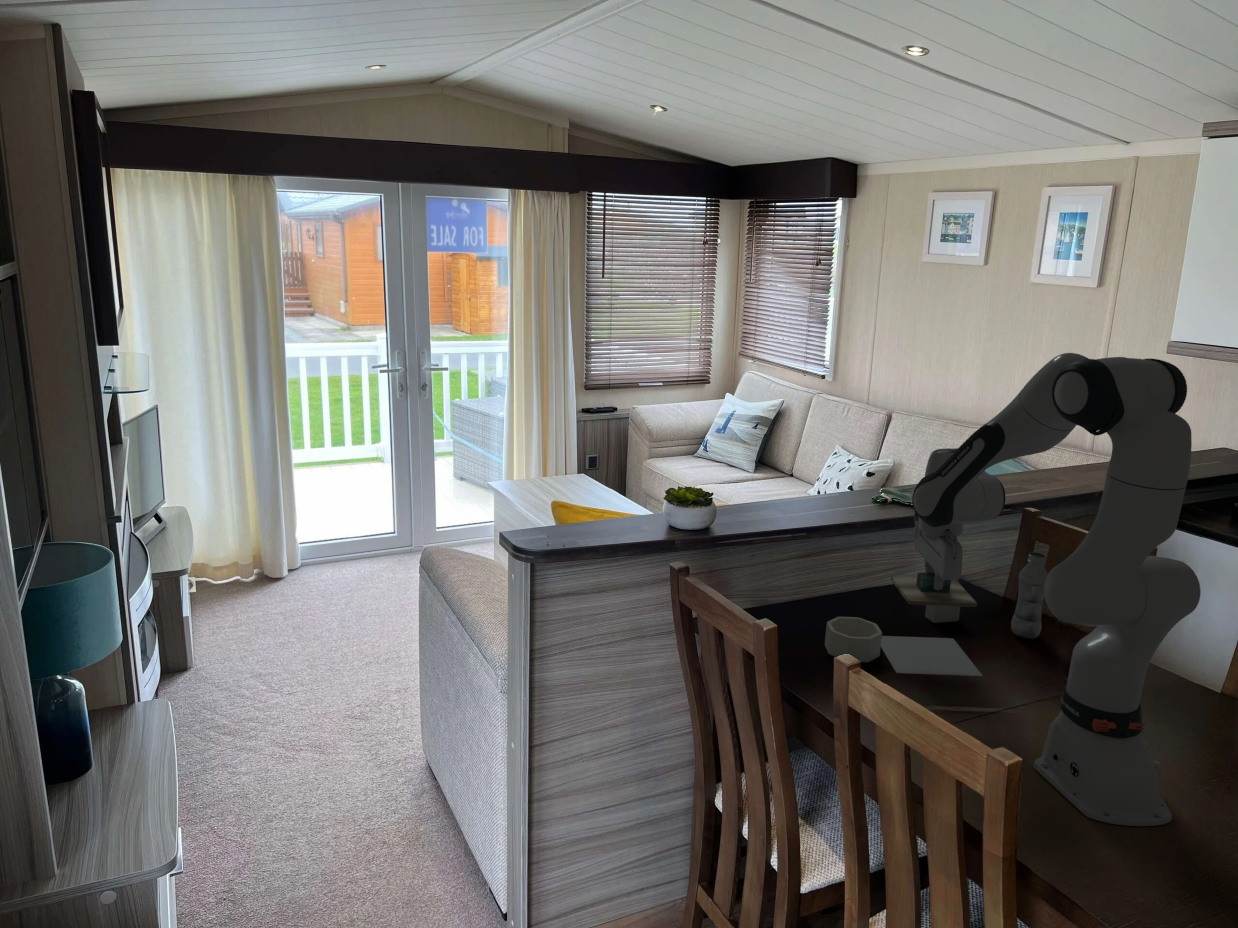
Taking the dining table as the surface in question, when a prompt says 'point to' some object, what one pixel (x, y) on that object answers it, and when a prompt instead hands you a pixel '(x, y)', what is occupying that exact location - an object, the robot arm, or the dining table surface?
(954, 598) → the board
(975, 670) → the mat
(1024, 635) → the plastic bottle
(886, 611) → the dining table surface
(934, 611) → the dark grey block
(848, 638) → the bowl
